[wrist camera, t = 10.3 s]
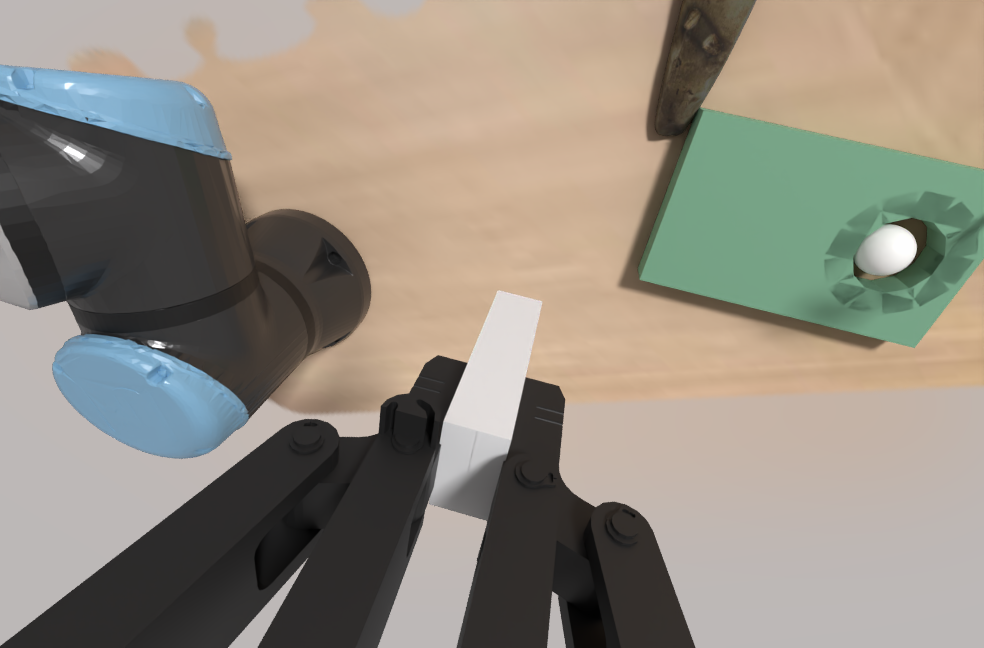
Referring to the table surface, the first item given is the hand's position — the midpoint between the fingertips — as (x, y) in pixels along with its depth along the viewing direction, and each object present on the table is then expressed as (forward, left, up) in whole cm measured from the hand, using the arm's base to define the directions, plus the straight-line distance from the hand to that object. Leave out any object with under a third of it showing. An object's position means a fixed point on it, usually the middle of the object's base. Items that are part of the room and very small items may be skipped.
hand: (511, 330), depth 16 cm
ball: (+26, -1, -27) cm, 38 cm away
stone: (+7, +10, -30) cm, 32 cm away
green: (+21, -1, -29) cm, 36 cm away
